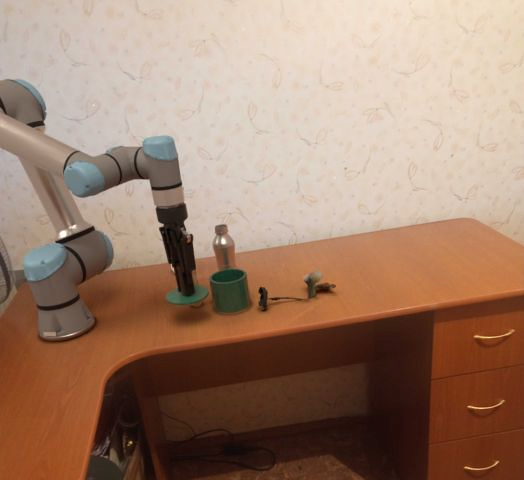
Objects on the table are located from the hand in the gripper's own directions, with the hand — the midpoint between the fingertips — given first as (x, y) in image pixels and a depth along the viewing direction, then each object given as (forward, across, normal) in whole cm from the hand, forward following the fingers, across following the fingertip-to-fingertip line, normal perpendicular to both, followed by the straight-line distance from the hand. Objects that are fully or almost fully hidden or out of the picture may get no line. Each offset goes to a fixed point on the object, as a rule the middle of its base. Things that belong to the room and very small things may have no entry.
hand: (186, 292), depth 141 cm
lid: (+1, 0, 0) cm, 1 cm away
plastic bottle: (+10, +10, -20) cm, 24 cm away
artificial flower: (+9, -12, -28) cm, 32 cm away
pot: (+9, 0, -13) cm, 16 cm away
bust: (+10, +37, -19) cm, 42 cm away
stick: (+9, +9, -7) cm, 15 cm away
